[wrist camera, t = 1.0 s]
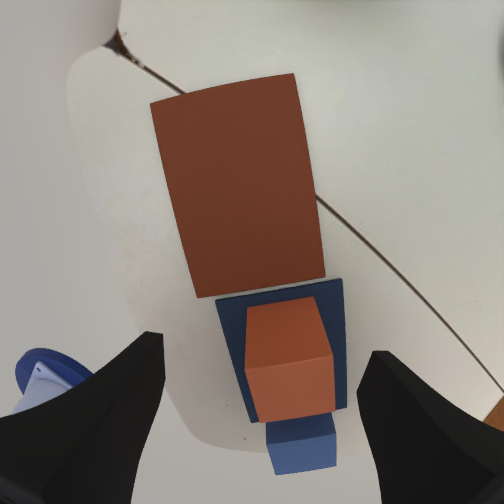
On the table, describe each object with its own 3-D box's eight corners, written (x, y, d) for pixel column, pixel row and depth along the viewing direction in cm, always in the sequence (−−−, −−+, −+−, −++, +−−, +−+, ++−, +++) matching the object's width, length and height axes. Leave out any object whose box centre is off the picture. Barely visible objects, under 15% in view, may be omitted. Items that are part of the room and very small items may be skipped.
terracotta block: (319, 347, 21) (335, 411, 16) (258, 357, 22) (259, 423, 16) (313, 295, 20) (333, 355, 14) (247, 306, 20) (244, 370, 14)
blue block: (324, 407, 23) (336, 466, 18) (272, 415, 24) (275, 475, 18) (321, 370, 22) (336, 433, 16) (264, 380, 22) (266, 444, 17)
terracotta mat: (324, 275, 20) (325, 277, 19) (198, 296, 20) (197, 298, 20) (293, 74, 16) (293, 73, 15) (151, 104, 16) (149, 103, 16)
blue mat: (346, 405, 24) (346, 407, 23) (251, 420, 24) (251, 423, 24) (341, 278, 20) (342, 279, 19) (215, 299, 20) (214, 301, 20)
